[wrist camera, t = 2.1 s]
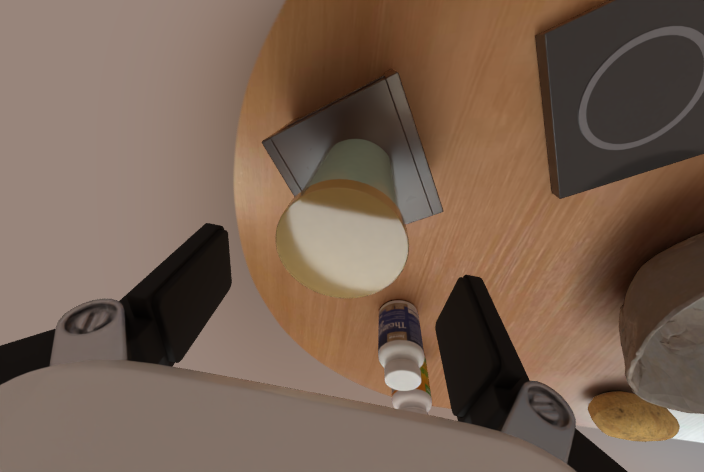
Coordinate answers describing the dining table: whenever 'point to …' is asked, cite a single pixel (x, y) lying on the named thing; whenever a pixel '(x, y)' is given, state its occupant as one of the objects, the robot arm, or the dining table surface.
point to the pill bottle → (400, 345)
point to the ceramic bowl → (667, 328)
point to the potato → (632, 417)
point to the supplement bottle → (415, 395)
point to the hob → (622, 91)
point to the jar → (346, 224)
